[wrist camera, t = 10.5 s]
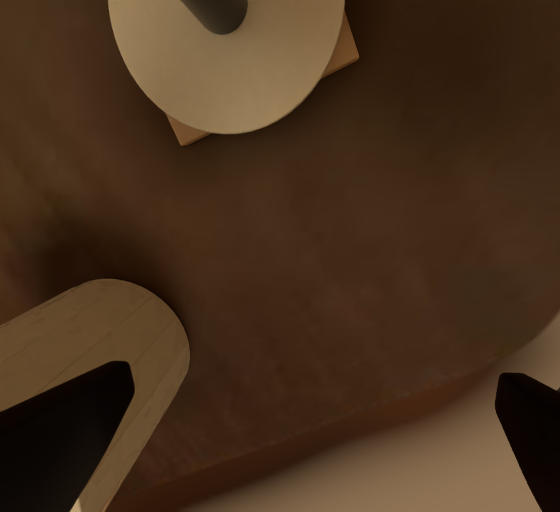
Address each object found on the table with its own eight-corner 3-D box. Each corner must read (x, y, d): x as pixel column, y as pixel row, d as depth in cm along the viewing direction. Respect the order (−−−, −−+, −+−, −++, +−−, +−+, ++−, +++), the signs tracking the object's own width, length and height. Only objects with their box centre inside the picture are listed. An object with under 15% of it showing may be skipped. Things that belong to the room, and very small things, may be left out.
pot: (211, 320, 21) (111, 469, 11) (164, 422, 24) (54, 609, 14) (73, 253, 21) (-158, 343, 11) (44, 365, 24) (-153, 515, 14)
